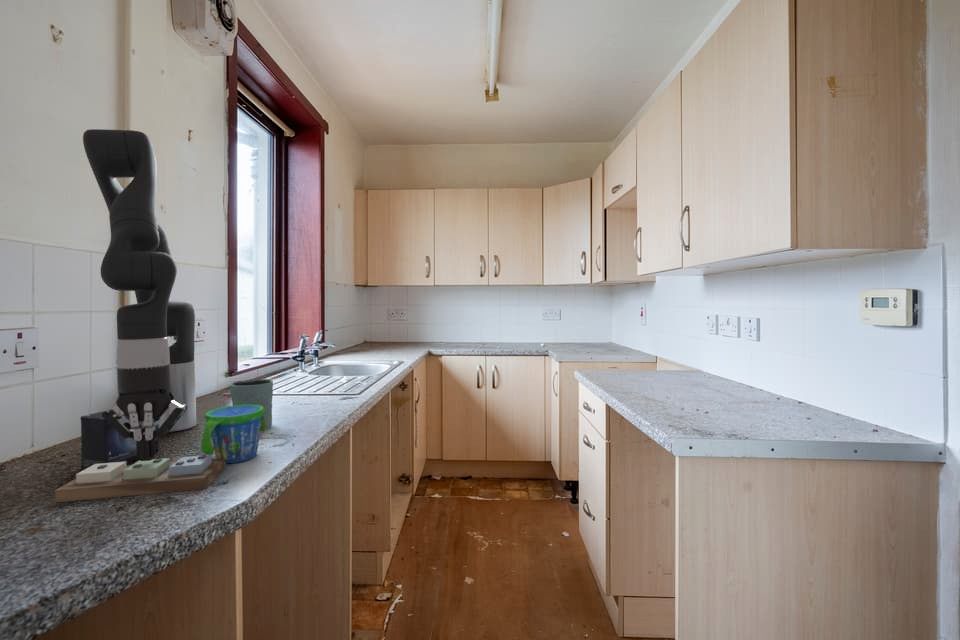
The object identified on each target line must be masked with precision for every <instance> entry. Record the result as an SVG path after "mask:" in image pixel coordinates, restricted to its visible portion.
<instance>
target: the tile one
mask: <svg viewBox="0 0 960 640" xmlns="http://www.w3.org/2000/svg"><path fill="white" fill-rule="evenodd" d="M127 464H128V463H127V462H114V463H101V464H94V465H92V466H90V467H88V468H84V469H83V470H81V471H80V472H78V473H76V474H75V479H76V484H82V483H93V482H105V481H112V480H114V479H115V478H117V477H118V476H120V475H121V474H123V473H124V470H125V469H127V466H128V465H127Z"/></svg>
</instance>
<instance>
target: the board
mask: <svg viewBox="0 0 960 640" xmlns="http://www.w3.org/2000/svg"><path fill="white" fill-rule="evenodd" d="M175 462H176V461H170V466H171V465H172V464H174V463H175ZM131 465H132V464H130V465H129V464H128V465H127V468H128V467H130V466H131ZM225 469H226V463H225V458H217V459H216V458H212V465H211V466H210V467H209V468H207V469H206V470H205V471H204V472H203V473H201V474H189V475H177V476H170V475H169V469H168V470H166V471H165V472H164V473H162V474H161V475H160V476H159V477H153V478H141V479H129V480H124V473H123V474H121V475H120V476H118V477H117V478H115V479H114V480H112V481H105V482H93V483H82V484H76V478H74V479H73V480H71V481H69V482H67V483H66V484H64V485H61V486H60V487H59V488H57V489H55V490H54V494H55V503H61V502H62V503H64V502H75V501H83V500H84V501H85V500H87V501H88V500H94V499H96V500H97V499H106V498H107V499H108V498H119V497H131V496H140V495H153V494H161V493H163V494H164V493H172V492H173V493H174V492H183V491H185V492H186V491H195V490H196V491H197V490H205V489H207V488H208V487H209V486H210V485H211V483H212V482H213V481H214V480H216V478H217V477H218V476H219V475H220V474H221V473H222V472H223V471H224V470H225Z"/></svg>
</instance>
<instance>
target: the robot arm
mask: <svg viewBox="0 0 960 640" xmlns="http://www.w3.org/2000/svg"><path fill="white" fill-rule="evenodd" d="M82 135H83V136H82V144H83V148H84V151H85V154H86V157H87V161H88V164H89V165H90V168H91V170H92V172H93V173H92V174H93V175H94V178H95V180H96V182H97V185H98V187H99V189H100V192H101V195H102V197H103V200H104V202H105V205H106V208H107V210H108V212H109V213H108V214H109V216H108V217H109V226H110V227H109V229H110V241H109V245H108V248H107V250H106V252H105V255H104V256H103V259H102V262H101V266H100V277H101V280H102V281H103V284H105V285H106V286H107V287H109V288H110V289H112V290H115V291H119V292H120V291H121V292H134V294H135V298H136V302H137V303H132V304H128V305H127V304H126V305H123V306H120V307H119V308H118V309H117V310H116V331H117V333H116V334H117V337H116V338H117V344H116V345H117V346H116V356H115V358H116V359H115V364H116V375H117V376H116V377H117V379H116V380H117V392H118V397H117V398H116V401H115V405H113V406H112V407H111V408H109V409H108V410H104V411H105V412H103V411H102V412H103V413H102V417H103V418H104V419H105V420H106V421H107V422H108V423H109V424H110V425H111V426H112V427H113V428H114V429H115V430H116V431H117V432H118V433H119V434H120V435H121V436H122V437H124V438H132V439H135V440H136V448H137V457H138V458H139V461H140V460H141V461H151V460H153V459H155V458H156V456H157V455H158V454H159V452H160V451H159V450H160V449H159V448H160V445H159V438H160V437H161V436H164V435H165V434H167V433H169V432H170V433H171V432H177V431H183V430H187V429H191V428H194V427H196V425H198V424H197V395H196V371H195V367H196V366H195V331H196V330H195V328H196V327H195V326H196V325H195V324H196V314H195V308H194V306H193V304H192V303H191V302H190V301H188V300H170V298H171V293H172V290H173V287H174V285H175V282H176V278H177V273H178V272H177V271H178V267H177V263H176V262H175V260H174V258H173V257H172V251H171V247H170V244H169V243H170V242H169V240H168V236H167V233H166V231H165V229H164V228H163V226H162V225H161V224H160V223H159V222H158V220H157V214H156V213H157V212H156V199H157V189H158V187H157V186H158V184H157V182H158V181H157V180H158V178H157V177H158V166H157V165H158V164H157V158H156V152H155V150H154V146H153V144H152V143H153V142H151V140H150V138H149V136H148V135H147V134H146V133H144V132H143V131H140V130H139V131H138V130H130V129H125V130H124V129H99V128H97V129H96V128H95V129H92V128H91V129H90V128H89V129H87V130H85V131H84V132H83V134H82ZM119 178H122V179H124V178H125V179H129V178H130V179H131V178H133V179H132V180H131V181H130V183H128V184H127V186H126V187H125V188H123V187H122V185H121V184H120V182H119V181H118V179H119ZM168 337H176V340H175V342H174V343H173V344H172V345H169V342H168V341H169V340H168ZM123 414H125V415H126V416H127V417H128V418H129V419H130V422H129V421H128V420H127V419H126V418H125V417H124V416H123Z"/></svg>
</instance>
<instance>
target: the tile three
mask: <svg viewBox="0 0 960 640" xmlns="http://www.w3.org/2000/svg"><path fill="white" fill-rule="evenodd" d="M212 459H213V457H212V454H203V455H202V454H201V455H195V456H194V455H193V456H183V457H180V458H179V459H178V460H176V461H174V462H175V463H174V464H172V465H171V466H170V467H169V475H170V476H177V475H189V474H201V473H203V472H204V471H205V470H206V469H207V468H209V467H210V466H211V465H212Z"/></svg>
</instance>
